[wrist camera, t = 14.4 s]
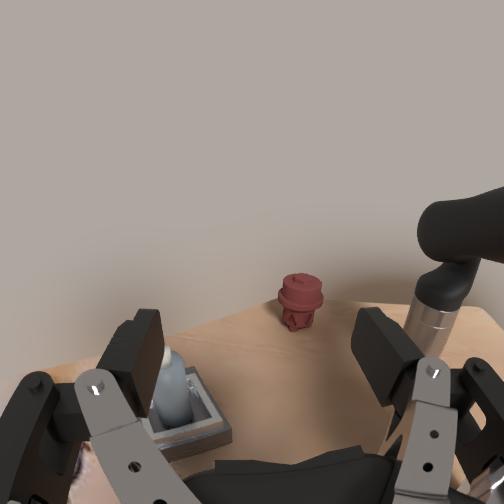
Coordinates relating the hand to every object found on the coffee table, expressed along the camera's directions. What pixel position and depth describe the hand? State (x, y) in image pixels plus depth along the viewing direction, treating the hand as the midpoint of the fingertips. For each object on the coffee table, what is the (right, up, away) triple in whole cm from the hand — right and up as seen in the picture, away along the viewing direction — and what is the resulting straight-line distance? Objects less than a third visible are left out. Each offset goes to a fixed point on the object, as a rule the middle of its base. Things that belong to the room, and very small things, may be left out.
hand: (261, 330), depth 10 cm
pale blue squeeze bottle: (-11, -19, +22) cm, 31 cm away
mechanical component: (+10, -14, +52) cm, 54 cm away
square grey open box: (-12, -23, +25) cm, 35 cm away
